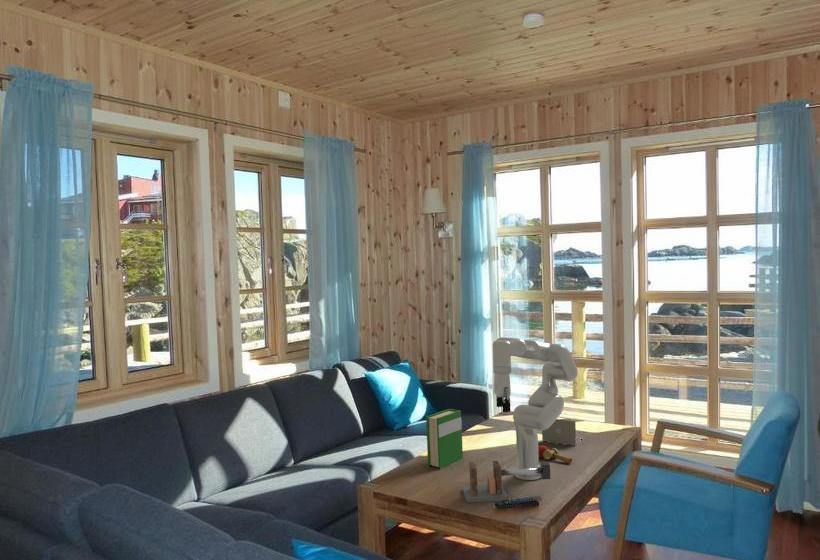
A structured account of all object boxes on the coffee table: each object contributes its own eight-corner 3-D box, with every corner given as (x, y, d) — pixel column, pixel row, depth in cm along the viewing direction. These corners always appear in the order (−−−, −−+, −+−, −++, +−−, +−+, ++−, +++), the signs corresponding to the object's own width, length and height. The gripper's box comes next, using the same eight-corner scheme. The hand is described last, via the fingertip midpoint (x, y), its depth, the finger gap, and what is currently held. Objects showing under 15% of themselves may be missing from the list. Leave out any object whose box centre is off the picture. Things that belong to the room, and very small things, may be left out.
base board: (502, 487, 266) (502, 484, 266) (508, 500, 252) (508, 496, 252) (462, 489, 266) (462, 486, 266) (466, 502, 252) (466, 499, 252)
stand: (498, 487, 263) (497, 460, 263) (502, 494, 255) (501, 467, 255) (470, 488, 263) (469, 462, 262) (472, 495, 255) (471, 468, 254)
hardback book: (440, 469, 292) (438, 418, 292) (428, 466, 297) (426, 416, 297) (462, 459, 306) (461, 410, 305) (450, 456, 311) (449, 408, 310)
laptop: (583, 439, 331) (582, 415, 330) (576, 446, 320) (575, 421, 319) (550, 435, 340) (549, 412, 340) (542, 442, 329) (541, 417, 329)
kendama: (575, 463, 297) (541, 451, 309) (575, 452, 295) (541, 440, 307) (566, 471, 292) (533, 458, 304) (566, 459, 290) (533, 446, 302)
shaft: (547, 475, 262) (547, 461, 261) (550, 479, 258) (549, 464, 257) (499, 478, 261) (498, 464, 261) (500, 481, 257) (500, 467, 257)
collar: (493, 488, 262) (492, 474, 262) (495, 493, 256) (495, 479, 256) (487, 488, 262) (487, 474, 262) (489, 493, 256) (489, 479, 256)
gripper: (488, 366, 275) (489, 405, 276) (499, 373, 258) (500, 414, 259) (505, 365, 276) (506, 404, 277) (516, 372, 259) (517, 413, 260)
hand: (503, 409), depth 268 cm, fingers open, 9 cm apart
